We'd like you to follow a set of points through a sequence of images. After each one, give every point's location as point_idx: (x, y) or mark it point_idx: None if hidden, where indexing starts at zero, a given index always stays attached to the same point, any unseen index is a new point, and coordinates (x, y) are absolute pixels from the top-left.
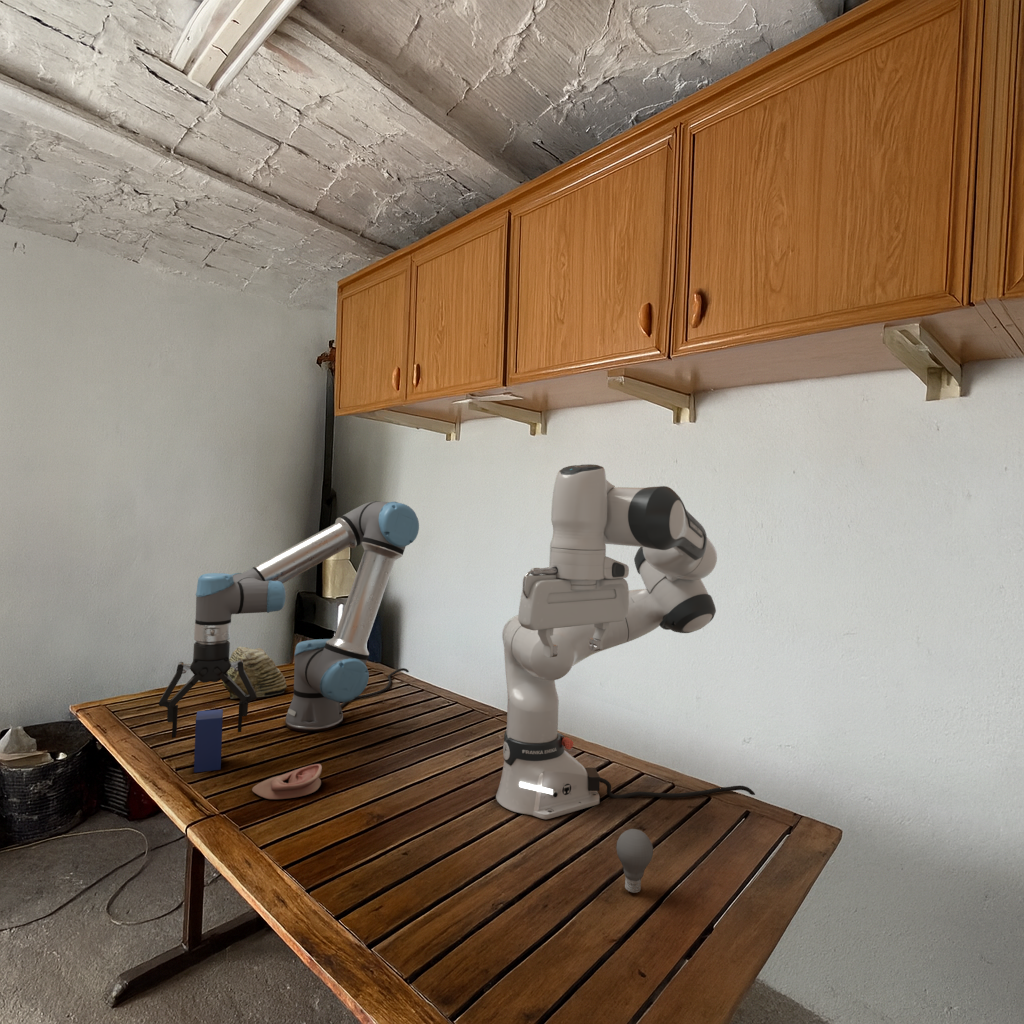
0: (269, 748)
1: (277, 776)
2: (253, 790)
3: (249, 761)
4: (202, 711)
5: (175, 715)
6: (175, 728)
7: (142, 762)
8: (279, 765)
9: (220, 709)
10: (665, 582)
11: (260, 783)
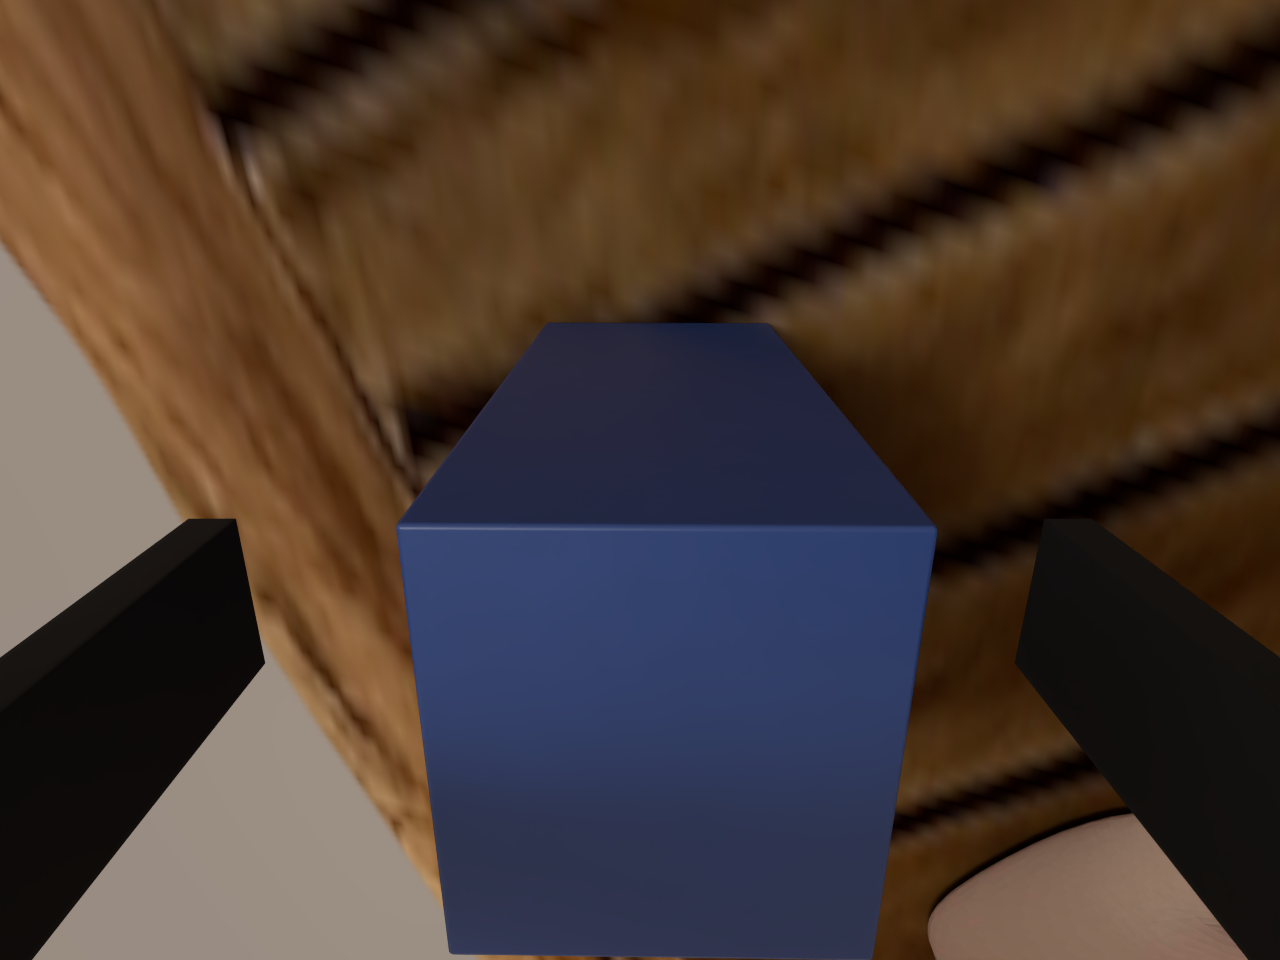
0: (1260, 170)
1: (1120, 953)
2: (934, 947)
3: (1000, 449)
4: (508, 564)
5: (39, 919)
6: (194, 739)
7: (58, 172)
8: (1206, 600)
9: (886, 541)
10: None
11: (992, 945)
